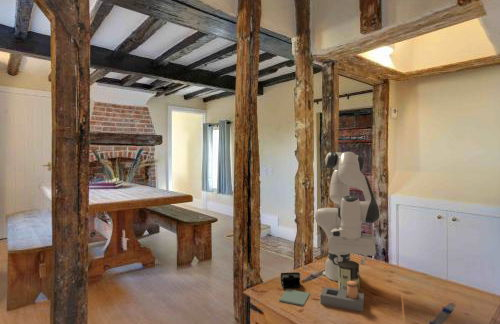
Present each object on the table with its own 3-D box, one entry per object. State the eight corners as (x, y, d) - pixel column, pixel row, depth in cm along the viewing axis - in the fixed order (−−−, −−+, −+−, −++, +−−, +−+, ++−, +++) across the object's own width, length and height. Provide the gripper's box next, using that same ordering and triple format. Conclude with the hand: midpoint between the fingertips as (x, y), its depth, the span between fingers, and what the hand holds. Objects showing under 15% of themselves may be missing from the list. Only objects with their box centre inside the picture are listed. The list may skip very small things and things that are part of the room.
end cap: (299, 282, 158) (298, 270, 157) (301, 288, 150) (300, 275, 150) (280, 283, 158) (280, 270, 158) (282, 289, 151) (281, 276, 150)
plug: (348, 301, 134) (347, 280, 134) (358, 303, 132) (357, 281, 132) (346, 306, 130) (346, 284, 130) (357, 308, 128) (356, 285, 128)
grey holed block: (324, 296, 141) (324, 286, 141) (364, 304, 133) (363, 293, 133) (320, 305, 133) (320, 294, 133) (362, 313, 125) (362, 302, 125)
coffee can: (357, 287, 150) (357, 260, 150) (361, 296, 140) (360, 268, 140) (337, 286, 152) (336, 259, 152) (339, 295, 142) (338, 267, 142)
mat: (287, 290, 149) (287, 288, 149) (310, 294, 143) (310, 293, 143) (279, 301, 138) (279, 299, 138) (303, 306, 133) (303, 304, 133)
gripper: (376, 232, 129) (377, 263, 129) (329, 228, 137) (330, 257, 138) (375, 236, 123) (376, 268, 123) (327, 231, 132) (327, 262, 132)
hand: (351, 262), depth 130 cm, fingers open, 8 cm apart
